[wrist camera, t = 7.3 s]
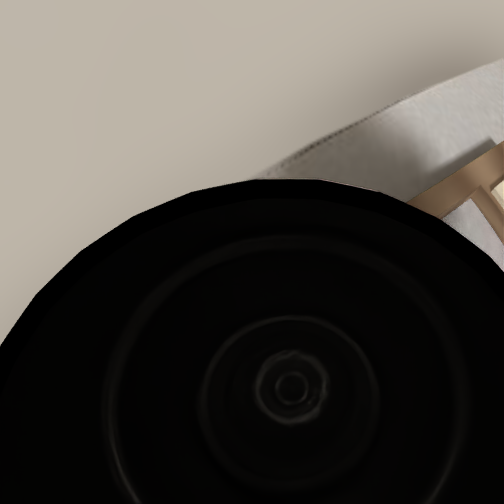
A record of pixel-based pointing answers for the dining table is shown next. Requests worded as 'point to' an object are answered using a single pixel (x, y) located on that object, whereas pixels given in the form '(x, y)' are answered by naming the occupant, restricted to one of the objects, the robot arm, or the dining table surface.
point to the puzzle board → (470, 190)
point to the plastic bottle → (261, 358)
